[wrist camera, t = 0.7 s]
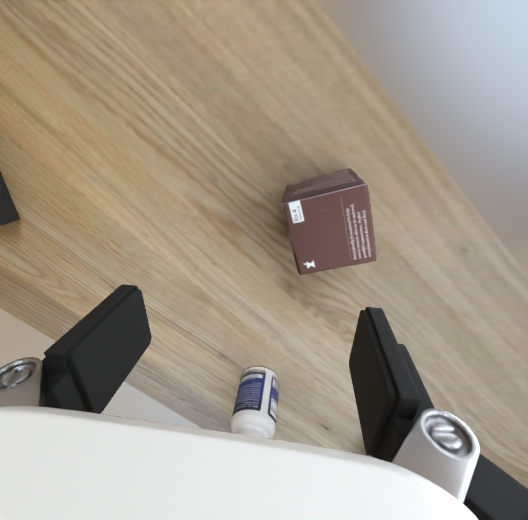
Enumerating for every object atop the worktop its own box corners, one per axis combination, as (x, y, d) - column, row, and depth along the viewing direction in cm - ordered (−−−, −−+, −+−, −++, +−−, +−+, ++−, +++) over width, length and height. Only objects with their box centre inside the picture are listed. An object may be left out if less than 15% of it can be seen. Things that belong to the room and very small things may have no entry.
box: (359, 229, 26) (378, 263, 20) (299, 241, 28) (298, 277, 21) (351, 166, 24) (369, 182, 17) (285, 183, 25) (279, 203, 19)
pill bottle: (235, 381, 39) (216, 455, 30) (251, 359, 36) (236, 432, 28) (268, 396, 39) (258, 473, 31) (286, 375, 37) (281, 453, 28)
